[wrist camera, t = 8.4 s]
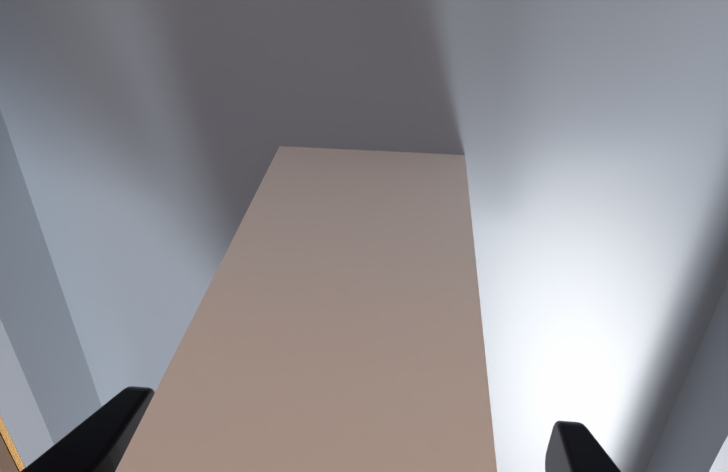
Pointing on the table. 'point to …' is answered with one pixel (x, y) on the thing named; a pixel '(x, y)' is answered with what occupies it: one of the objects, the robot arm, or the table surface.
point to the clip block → (6, 459)
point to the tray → (379, 133)
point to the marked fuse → (334, 329)
